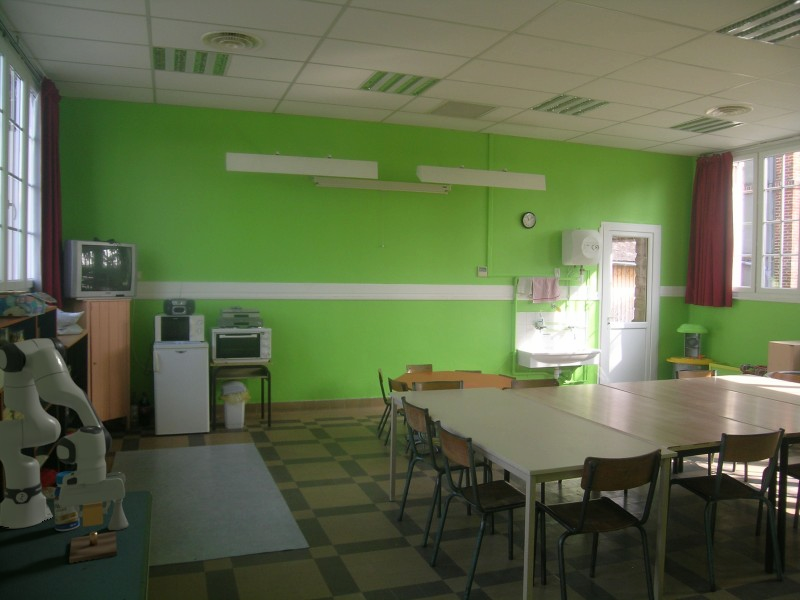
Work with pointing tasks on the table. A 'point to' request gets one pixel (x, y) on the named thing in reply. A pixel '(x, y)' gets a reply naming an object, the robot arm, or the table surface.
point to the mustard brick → (92, 514)
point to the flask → (118, 517)
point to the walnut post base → (93, 547)
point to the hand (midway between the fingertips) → (92, 515)
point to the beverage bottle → (64, 509)
